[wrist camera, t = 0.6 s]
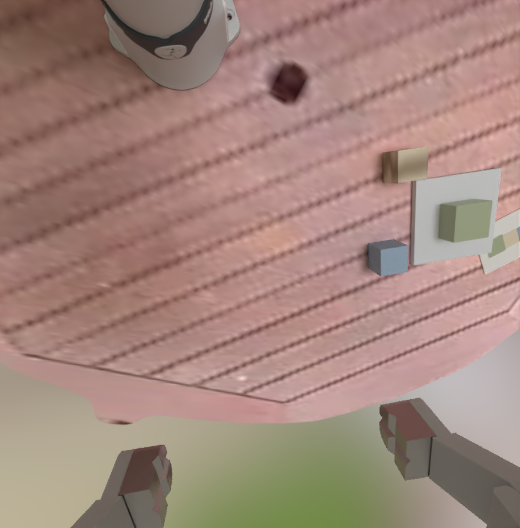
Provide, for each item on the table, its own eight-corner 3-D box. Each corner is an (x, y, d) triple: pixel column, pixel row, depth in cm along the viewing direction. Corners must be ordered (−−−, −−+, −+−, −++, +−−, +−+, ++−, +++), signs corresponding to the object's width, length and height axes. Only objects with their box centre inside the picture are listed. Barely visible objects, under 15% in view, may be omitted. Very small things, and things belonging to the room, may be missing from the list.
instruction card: (472, 232, 57) (474, 232, 57) (539, 198, 56) (541, 198, 56) (484, 274, 60) (485, 274, 60) (547, 242, 59) (549, 242, 59)
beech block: (382, 152, 51) (398, 150, 46) (410, 148, 51) (428, 146, 46) (382, 182, 52) (397, 183, 48) (409, 178, 53) (427, 178, 48)
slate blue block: (367, 243, 56) (380, 249, 51) (393, 239, 56) (408, 245, 51) (368, 267, 57) (380, 276, 52) (392, 263, 57) (407, 271, 53)
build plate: (412, 180, 53) (431, 181, 48) (495, 168, 53) (522, 167, 48) (410, 263, 58) (427, 272, 53) (486, 251, 58) (510, 258, 53)
